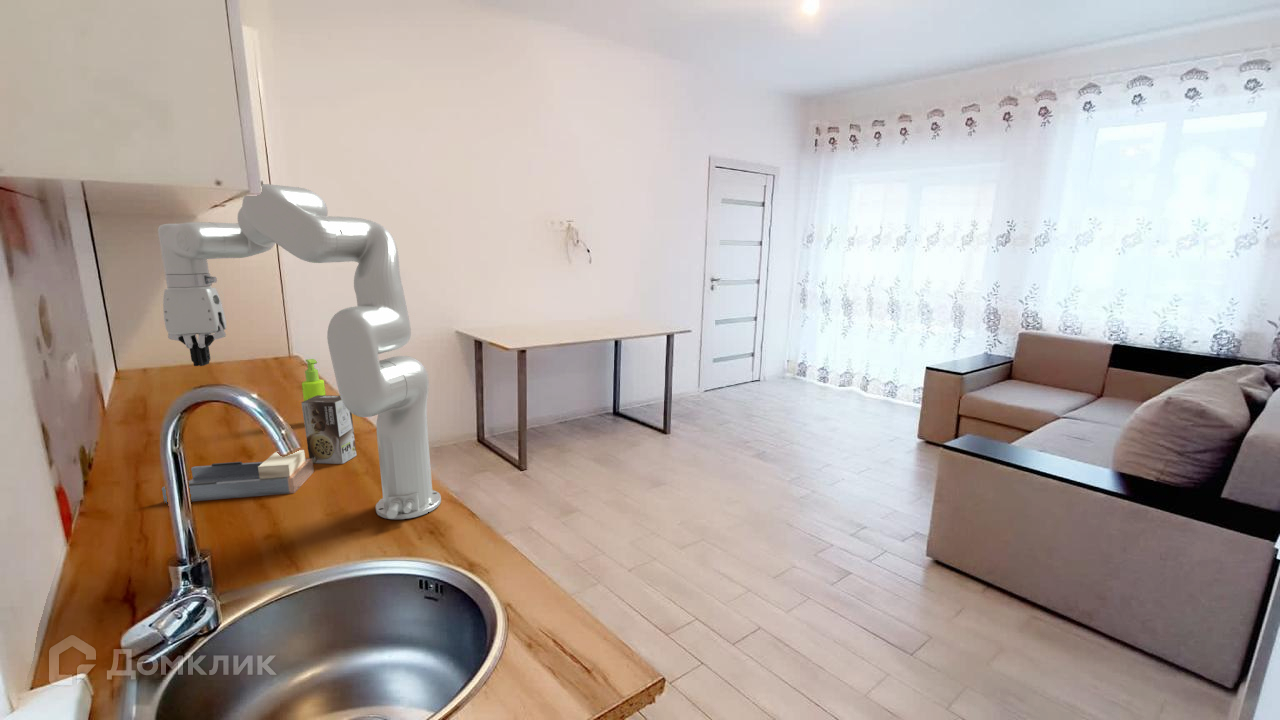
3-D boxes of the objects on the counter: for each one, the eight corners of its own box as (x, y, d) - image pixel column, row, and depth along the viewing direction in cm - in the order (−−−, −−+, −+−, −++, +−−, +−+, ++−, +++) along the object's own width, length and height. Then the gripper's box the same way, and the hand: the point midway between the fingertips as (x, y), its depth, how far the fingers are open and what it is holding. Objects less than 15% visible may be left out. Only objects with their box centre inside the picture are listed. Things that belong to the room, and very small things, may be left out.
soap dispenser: (310, 428, 168) (302, 362, 164) (304, 423, 173) (296, 359, 169) (332, 424, 172) (324, 359, 168) (325, 419, 177) (318, 356, 173)
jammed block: (291, 485, 125) (288, 464, 124) (261, 488, 124) (257, 466, 123) (306, 469, 134) (304, 449, 133) (278, 471, 133) (276, 451, 132)
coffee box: (357, 455, 147) (351, 395, 143) (342, 464, 140) (335, 402, 137) (324, 454, 148) (317, 394, 144) (308, 463, 141) (300, 401, 138)
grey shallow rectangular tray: (294, 493, 124) (292, 476, 124) (164, 503, 120) (161, 486, 119) (313, 472, 136) (311, 456, 135) (196, 480, 131) (193, 464, 130)
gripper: (235, 280, 128) (247, 360, 132) (159, 281, 125) (173, 362, 129) (218, 282, 121) (231, 367, 124) (137, 283, 118) (153, 369, 121)
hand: (201, 364), depth 126 cm, fingers closed
